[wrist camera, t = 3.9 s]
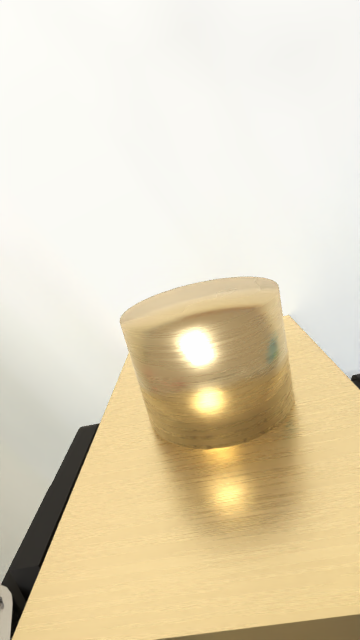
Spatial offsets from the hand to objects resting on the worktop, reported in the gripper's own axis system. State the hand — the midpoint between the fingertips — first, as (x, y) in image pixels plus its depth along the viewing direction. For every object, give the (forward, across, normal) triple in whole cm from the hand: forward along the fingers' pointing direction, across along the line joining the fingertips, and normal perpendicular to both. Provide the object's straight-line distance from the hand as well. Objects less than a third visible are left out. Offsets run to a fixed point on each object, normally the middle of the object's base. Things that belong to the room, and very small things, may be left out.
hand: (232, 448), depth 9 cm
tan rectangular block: (+1, 0, 0) cm, 1 cm away
